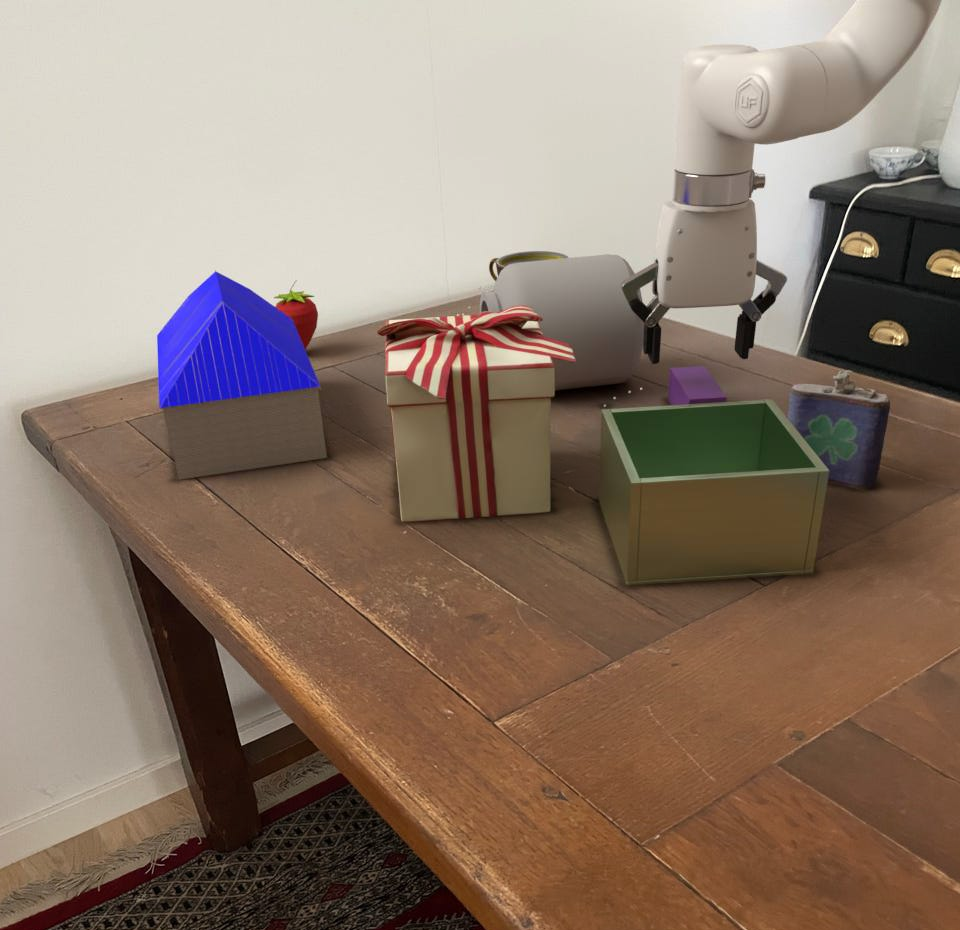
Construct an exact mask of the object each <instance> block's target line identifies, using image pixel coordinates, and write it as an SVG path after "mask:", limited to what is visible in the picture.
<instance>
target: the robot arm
mask: <svg viewBox="0 0 960 930" xmlns="http://www.w3.org/2000/svg"><path fill="white" fill-rule="evenodd" d="M942 1H943V0H855V1H854V3H853V4H852V5H851V7H850V8H849V9H848V10H847V11H846V13H845V14H844V15H843V16H842V17H841V19H839V21H838V22H837V23H836V25H834V27H833V28H832V29H831V30H830V31H829V32H828V34H827V35H825V37H824V38H823V39H821V41H813V42H808V43H801V44H794V45H790V46H783V47H778V48H771V49H770V48H769V49H765V50H758V49H757V48H755V47H753V46H751V45H745V44H711V45H703V46H698V47H694V48H692V49H690V50H689V51H688V52H687V53H686V54H685V56H684V57H683V59H682V62H681V67H680V79H679V92H678V93H679V94H678V95H679V96H678V109H677V125H676V139H675V153H674V154H675V156H674V157H675V158H674V172H673V185H672V186H673V187H672V200H668V201H665V202H664V203H663V206H662V210H661V214H660V218H659V222H658V228H657V234H656V239H655V247H654V255H653V262H652V264H650V265H648V266H646V267H644V268H642V269H641V270H639V271H637V272H635V274H634V275H632V276H630V277H629V278H627V279H625V280H623V281H622V282H621V284H620V287H621V289H622V291H623V293H624V295H625V298H626V300H627V302H628V304H629V306H630V308H631V309H632V311H633V312H634V313H635V314H636V315H637V316H638V317H639V318H640V319H641V320H642V321H643V322H644V337H643V348H642V353H643V354H644V355H647V357H648V359H649V361H650V363H651V364H652V365H657V364H658V363H659V364H660V358H661V343H662V342H661V340H662V327H661V326H660V323H659V322H660V321H661V320H662V319H663V317H664V316H665V315H666V314H667V313H668V312H669V310H670V309H695V308H696V309H697V308H714V307H731V306H738V307H740V309H741V313H739V316H737V318H736V319H737V320H736V328H735V339H734V346H733V347H734V352H735V353H736V354H737V356H738V357H739V359H741V360H749V354H750V349H753V348H754V346H755V337H756V330H757V329H756V328H757V322H760V320H761V319H762V315H763V314H764V313H766V312H767V311H768V310H769V309H770V308H771V307H772V306H773V305H774V304H775V303H776V300H777V297H778V296H779V295H780V293H781V291H782V290H783V288H784V287H785V285H786V283H787V282H788V277H787V275H786V274H784V273H783V272H782V271H780V270H778V269H776V268H774V267H772V266H770V265H768V264H767V263H764V262H762V261H761V260H759V259H757V258H758V257H757V253H758V250H757V249H758V240H757V239H758V233H757V231H758V228H757V213H756V204H755V202H754V200H752V199H751V198H752V195H753V192H754V191H756V190H757V189H765V186H766V174H765V173H758V172H756V171H755V170H754V168H753V165H754V164H753V163H754V153H755V146H756V145H775V144H781V143H783V142H788V141H789V142H790V141H793V140H797V139H799V138H803V137H807V136H812V135H817V134H822V133H826V132H829V131H833V130H836V129H838V128H840V127H841V126H843V125H845V124H846V123H848V122H849V121H851V120H852V119H854V117H856V116H857V115H858V114H859V113H861V112H862V111H863V110H864V109H865V108H866V107H867V106H868V105H869V104H870V103H871V102H872V101H873V100H874V99H875V98H876V97H877V95H879V93H881V91H882V90H884V88H885V87H886V86H887V85H888V84H889V83H890V82H891V80H892V79H893V78H894V77H895V76H896V75H897V74H898V73H899V72H900V71H901V70H902V69H903V67H904V66H905V65H906V64H907V63H908V62H909V60H910V59H911V57H913V55H914V54H915V52H916V51H917V49H918V48H919V47H920V45H921V44H922V42H923V40H924V39H925V36H926V34H927V32H928V31H929V28H930V26H931V25H932V22H933V21H934V19H935V17H936V16H937V13H938V12H939V9H940V6H941V3H942ZM756 276H758V277H759V278H761V279H764V280H766V281H767V284H766V285H765V289H764V290H762V291H761V292H759V294H758V295H757V296H756V297H755V298H753V296H754V292H755V286H756V278H757V277H756ZM650 283H651V292H652V294H653V295H654V296H653V298H652V299H651V300H650V301H649V302H648V303H647V305H646V304H645V303H644V302H643V300H642V301H641V300H640V299H639V296H638V294H637V292H638V290H639V289H640V290H641V288H643V287H644V286H647V285H649V284H650ZM752 298H753V300H752Z"/></svg>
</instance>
